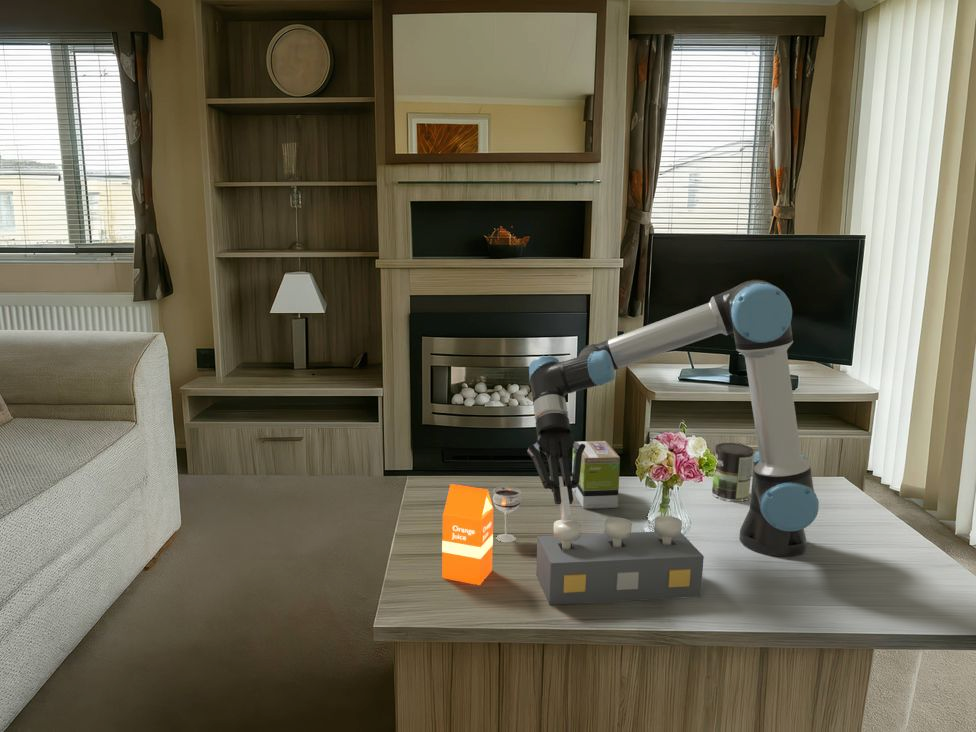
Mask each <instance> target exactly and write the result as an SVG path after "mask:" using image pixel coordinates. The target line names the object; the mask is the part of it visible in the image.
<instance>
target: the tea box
mask: <svg viewBox="0 0 976 732" xmlns="http://www.w3.org/2000/svg"><path fill="white" fill-rule="evenodd" d="M575 442H576V443H578V444H580V445H581V444H584V445H585V449H584V451H583V453H582V459H581V470H580V480H579V483H578V485H577V487H576V488H572V493H574V495H575V497H576V498H577V500H578V502H579V504H580V506H581V507H582V508H583V510H584V509H585V510H586V509H587V510H589V509H613V508H618V505H619V487H620V486H619V485H620V484H619V483H620V467H621V463H620V462H621V457H620V456H619V455H618V453H617V452H616V451H615V450H614V449H613V448H612V446H611V445H610V444H609V443H608V442H607V440H591V441H590V440H589V441H588V440H587V441H575ZM573 450H574V449H573V448H572V459H571V460H572V462H571V463H572V466H571V467H572V468H571V477H572V476H573V466H574V457H575V454H574V452H573Z"/></svg>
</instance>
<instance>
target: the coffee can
mask: <svg viewBox="0 0 976 732" xmlns="http://www.w3.org/2000/svg"><path fill="white" fill-rule="evenodd" d="M754 452H755V450H754V448H753V447H750V446H748V445H746V444H742V443H738V442H736V443H735V442H722V443H717V444H715V453H714V454H715V456H714V458H715V457H716V458H717V461H718V462H717V466H716V470H715V472H714V471H713V478H712V479H713V480H712V487H711V488H712V489H711V494H713V495H715V496H716V497H718V498H720V499H719V500H721V499H724V500H723V501H725V500H730V501H729V502H731V501H742V500H746V499H748V498H749V499H750V491H751V490H750V489H751V488H750V487H751V478H752V477H751V476H752V466H753V460H754V459H753V456H754V454H755V453H754ZM713 495H712V496H713ZM715 496H714V497H715ZM716 497H715V498H716ZM718 498H717V499H718ZM749 499H748V500H749ZM746 501H747V500H746ZM742 502H743V501H742Z"/></svg>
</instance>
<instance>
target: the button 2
mask: <svg viewBox="0 0 976 732" xmlns="http://www.w3.org/2000/svg"><path fill="white" fill-rule="evenodd" d="M682 524H683V521H682V520H681V519H680V518H678V517H675V516H672V515H659V516H656V517H655V518H654V527H653V529H654V530H653V532H656V533H657V534H659V535H662V536H663V542H662V545H671V538H672V537H675V536H679V535H680V534H681V533H682V527H683V525H682Z"/></svg>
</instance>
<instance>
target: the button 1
mask: <svg viewBox="0 0 976 732" xmlns="http://www.w3.org/2000/svg"><path fill="white" fill-rule="evenodd" d="M581 525H582V524H581V523H580V522H578V521H577V520H573V519H569V520H565V521H562V519H557V520H555V521H554V522H553V535H552V536H554V537H555V538H557V539H559V540H562V549H571V541H574V540H577V539H579V538H580V535H581V531H582V530H581V527H582V526H581Z"/></svg>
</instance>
